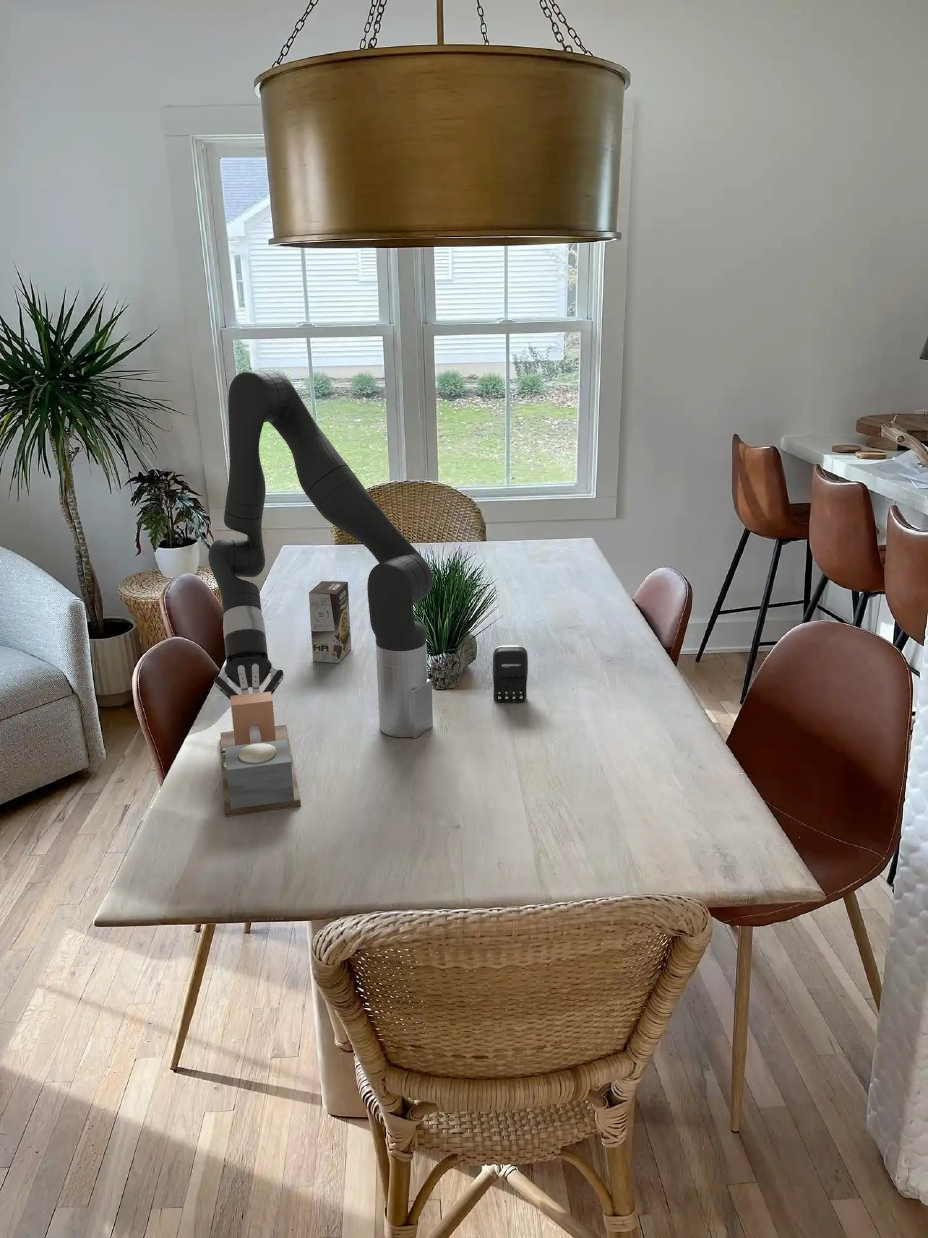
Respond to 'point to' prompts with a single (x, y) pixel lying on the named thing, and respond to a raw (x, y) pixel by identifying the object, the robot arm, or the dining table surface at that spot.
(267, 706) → the block on disc stand
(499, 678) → the black battery charger
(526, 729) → the dining table surface
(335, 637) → the coffee box
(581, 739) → the dining table surface
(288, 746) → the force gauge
